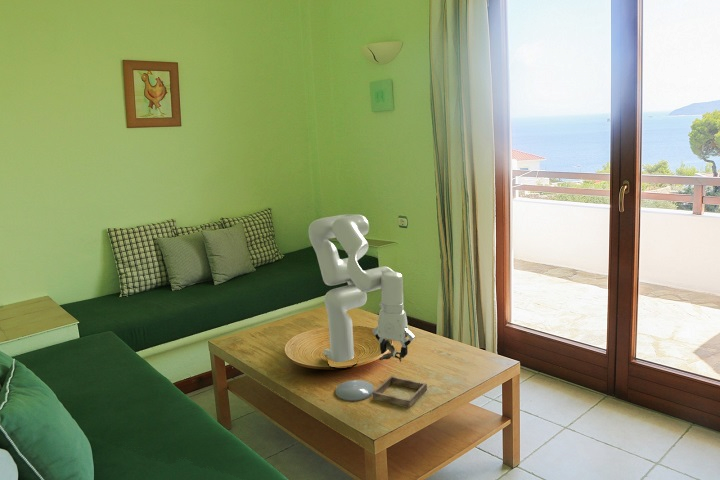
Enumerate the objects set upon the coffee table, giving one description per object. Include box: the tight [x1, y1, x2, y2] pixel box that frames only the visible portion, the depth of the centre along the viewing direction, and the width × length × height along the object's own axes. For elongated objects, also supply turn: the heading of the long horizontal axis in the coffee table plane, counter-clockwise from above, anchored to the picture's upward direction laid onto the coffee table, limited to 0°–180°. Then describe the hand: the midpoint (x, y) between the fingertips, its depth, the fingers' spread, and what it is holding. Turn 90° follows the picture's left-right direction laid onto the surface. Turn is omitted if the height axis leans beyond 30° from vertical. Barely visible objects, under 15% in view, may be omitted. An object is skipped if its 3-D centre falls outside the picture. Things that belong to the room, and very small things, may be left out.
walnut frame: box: [372, 375, 428, 409], centre depth 210 cm, size 15×14×2 cm
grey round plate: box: [335, 379, 375, 402], centre depth 214 cm, size 14×14×1 cm
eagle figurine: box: [379, 339, 403, 363], centre depth 208 cm, size 8×7×9 cm
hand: (393, 354), depth 208 cm, fingers closed on eagle figurine, 7 cm apart
